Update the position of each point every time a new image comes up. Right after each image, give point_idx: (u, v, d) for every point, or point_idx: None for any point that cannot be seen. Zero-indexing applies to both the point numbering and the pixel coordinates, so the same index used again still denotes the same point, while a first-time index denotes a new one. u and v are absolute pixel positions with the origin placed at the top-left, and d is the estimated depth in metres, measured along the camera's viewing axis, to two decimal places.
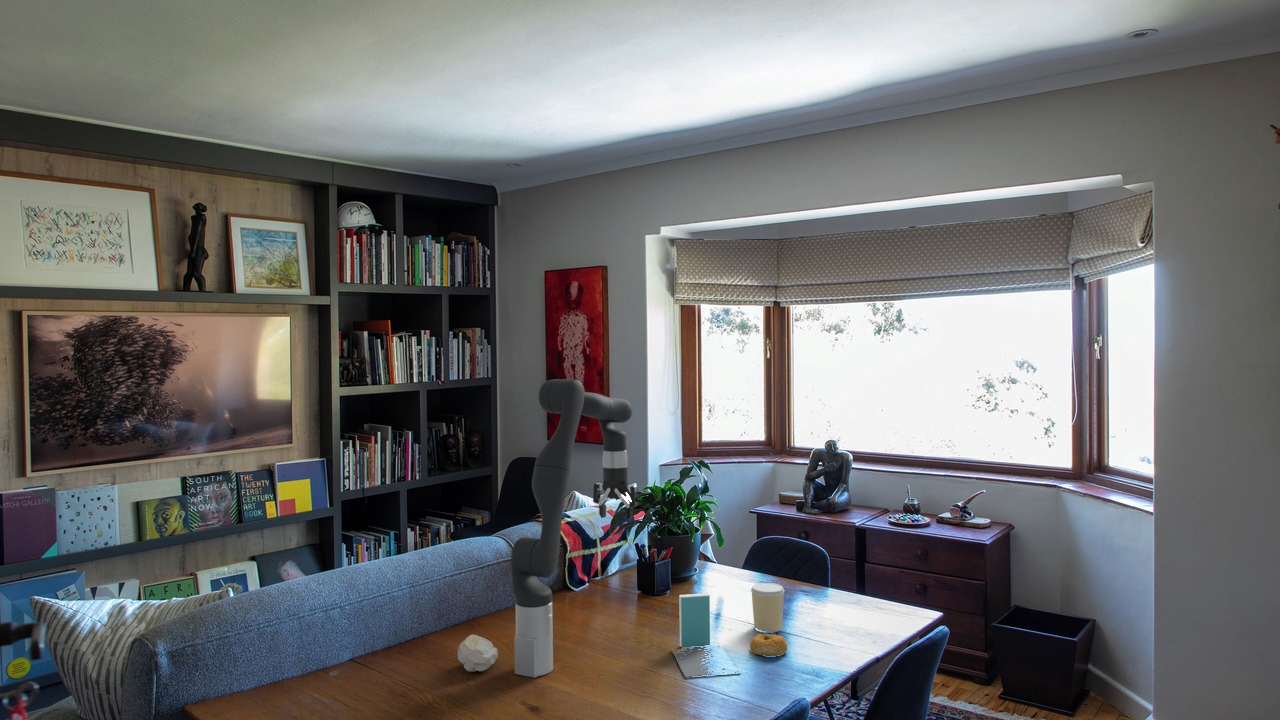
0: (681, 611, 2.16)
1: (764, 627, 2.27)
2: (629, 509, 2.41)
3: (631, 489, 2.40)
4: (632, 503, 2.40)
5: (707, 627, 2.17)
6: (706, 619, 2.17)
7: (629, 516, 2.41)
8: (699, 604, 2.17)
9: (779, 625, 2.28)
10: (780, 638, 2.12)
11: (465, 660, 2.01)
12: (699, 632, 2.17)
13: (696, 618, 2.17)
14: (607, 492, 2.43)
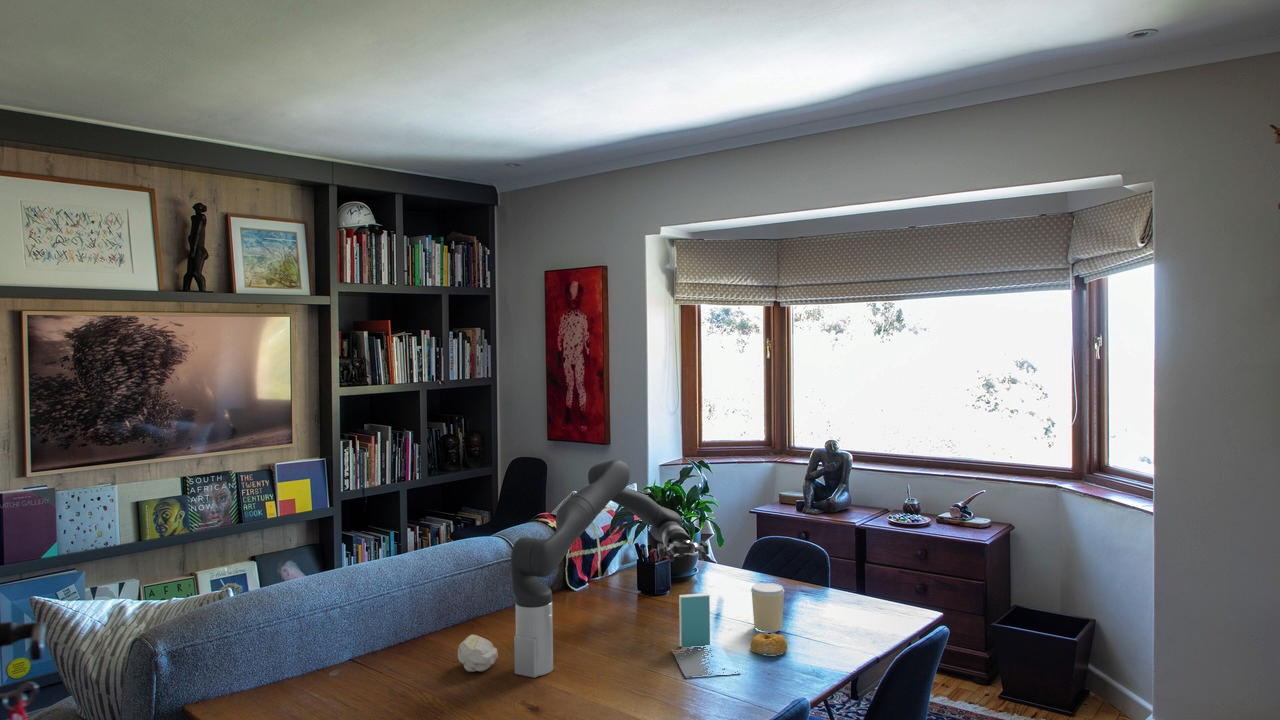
0: (681, 611, 2.16)
1: (764, 627, 2.27)
2: (702, 549, 2.29)
3: (701, 541, 2.35)
4: (705, 545, 2.31)
5: (707, 627, 2.17)
6: (706, 619, 2.17)
7: (704, 551, 2.27)
8: (699, 604, 2.17)
9: (779, 625, 2.28)
10: (780, 637, 2.12)
11: (465, 660, 2.01)
12: (698, 632, 2.17)
13: (696, 618, 2.17)
14: (675, 542, 2.32)
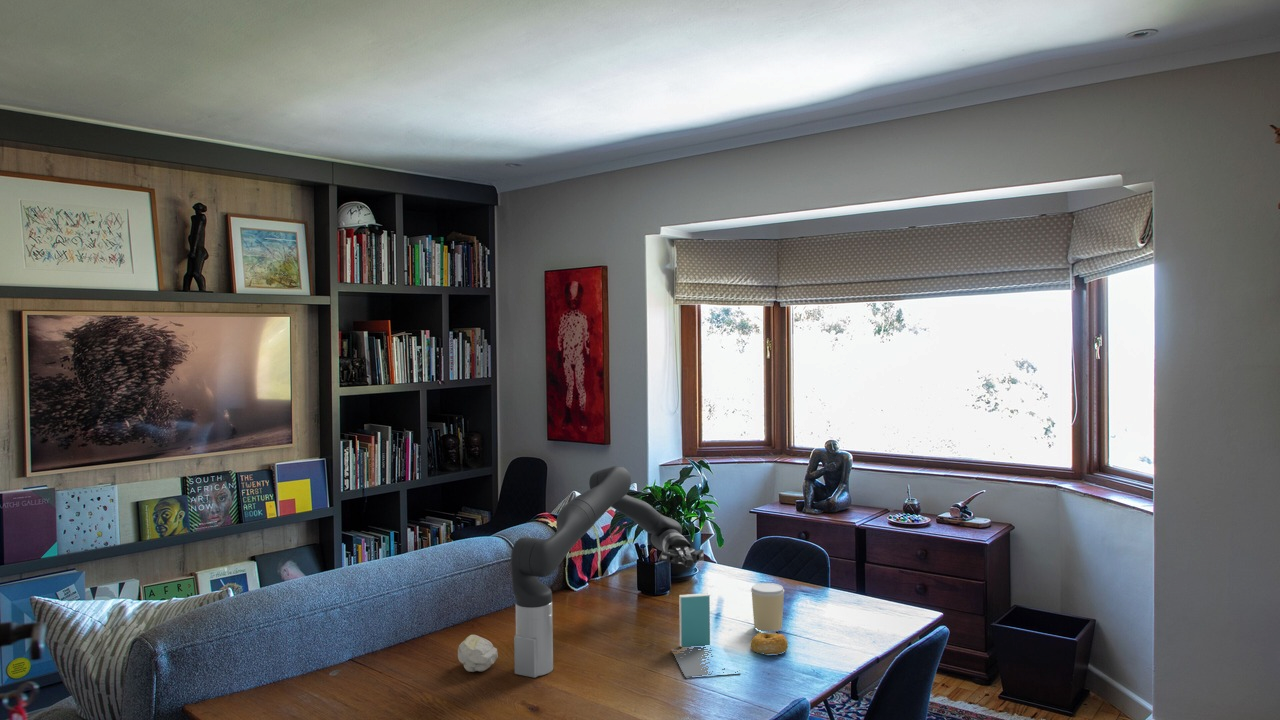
0: (681, 611, 2.16)
1: (764, 627, 2.27)
2: (690, 557, 2.27)
3: (700, 550, 2.33)
4: (693, 553, 2.29)
5: (707, 627, 2.17)
6: (706, 619, 2.17)
7: (692, 559, 2.25)
8: (699, 604, 2.17)
9: (779, 625, 2.28)
10: (781, 636, 2.13)
11: (465, 660, 2.01)
12: (698, 632, 2.17)
13: (696, 618, 2.17)
14: (678, 548, 2.32)
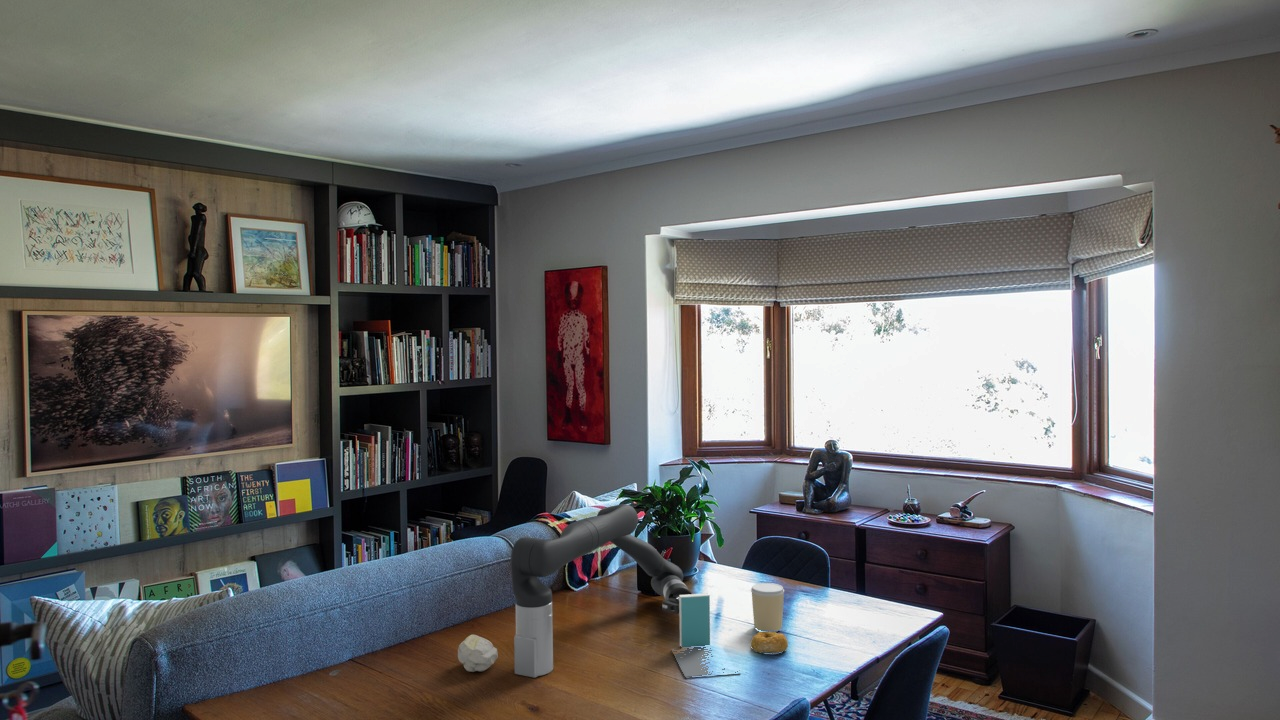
0: (681, 611, 2.16)
1: (764, 627, 2.27)
2: None
3: None
4: None
5: (707, 627, 2.17)
6: (706, 619, 2.17)
7: None
8: (699, 604, 2.17)
9: (779, 625, 2.28)
10: (781, 636, 2.13)
11: (465, 660, 2.01)
12: (699, 632, 2.17)
13: (696, 618, 2.17)
14: None
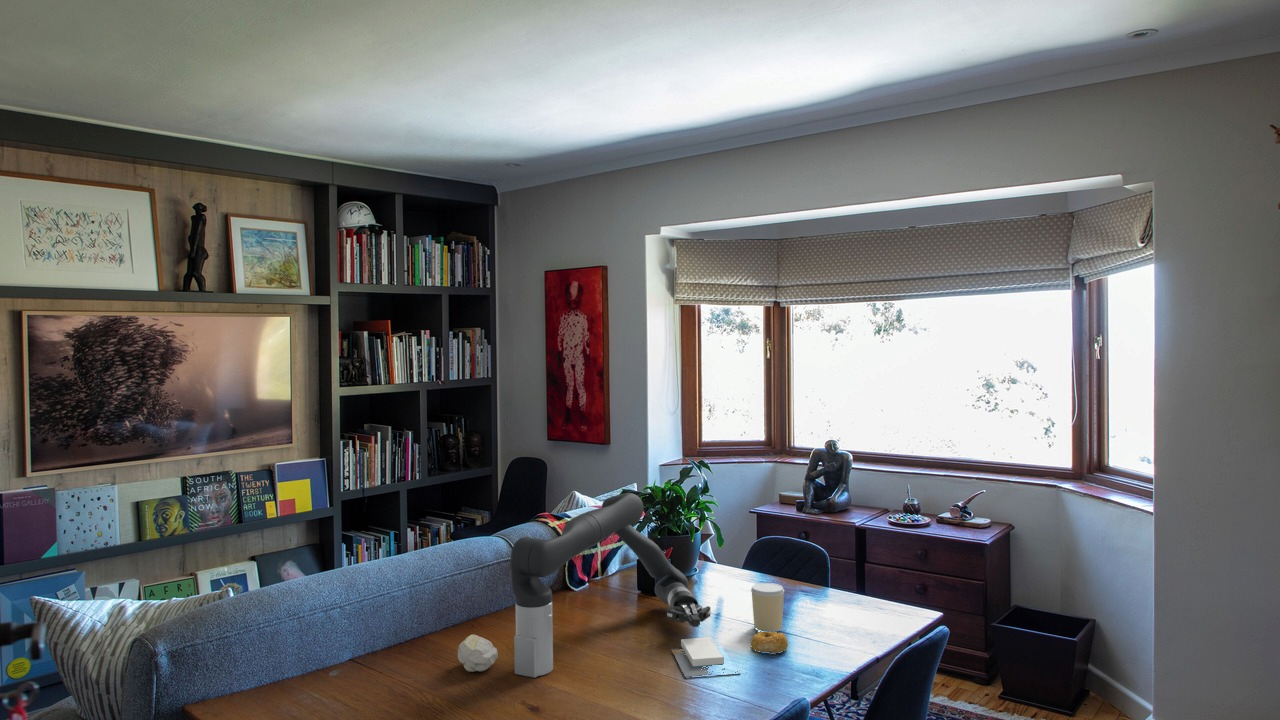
0: None
1: (764, 627, 2.27)
2: (697, 616, 2.20)
3: (707, 607, 2.25)
4: (700, 611, 2.22)
5: None
6: None
7: (698, 619, 2.17)
8: None
9: (779, 625, 2.28)
10: (781, 635, 2.14)
11: (465, 660, 2.01)
12: None
13: None
14: (684, 605, 2.25)
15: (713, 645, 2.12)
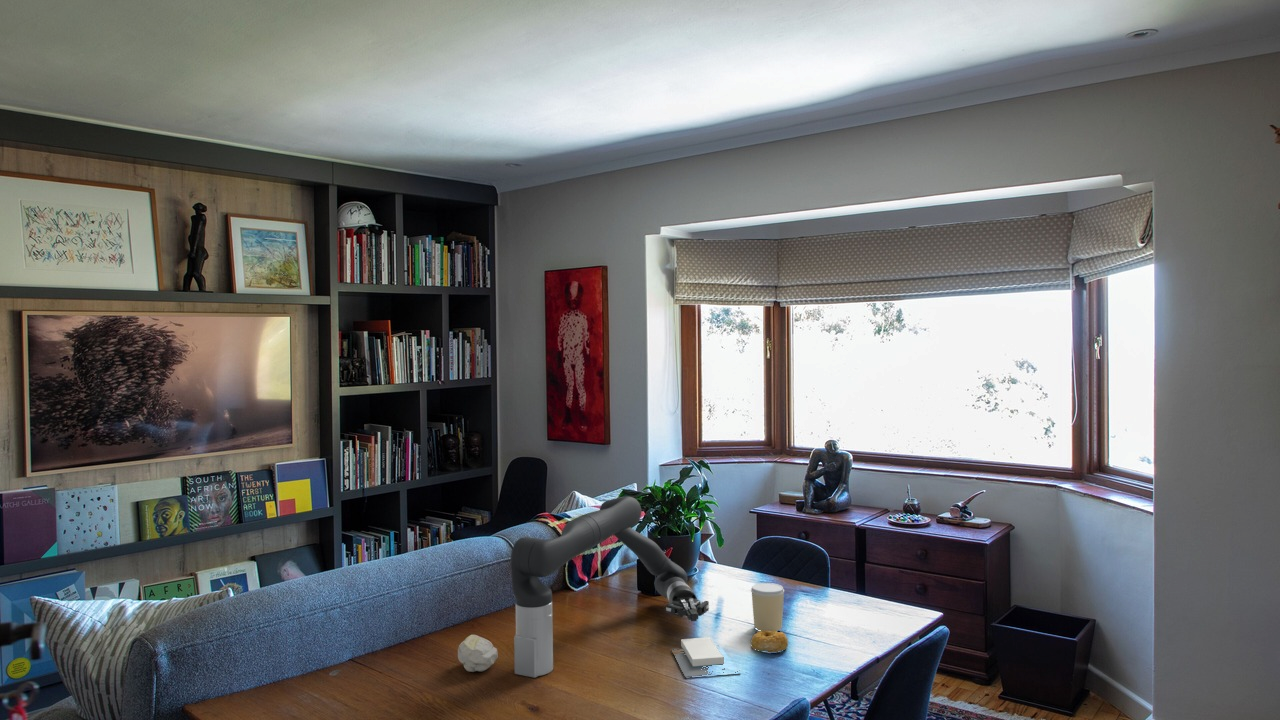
0: None
1: (764, 627, 2.27)
2: (695, 611, 2.23)
3: (705, 601, 2.29)
4: (698, 606, 2.25)
5: None
6: None
7: (697, 613, 2.21)
8: None
9: (779, 625, 2.28)
10: (781, 634, 2.14)
11: (465, 660, 2.01)
12: None
13: None
14: (683, 600, 2.28)
15: (713, 645, 2.12)
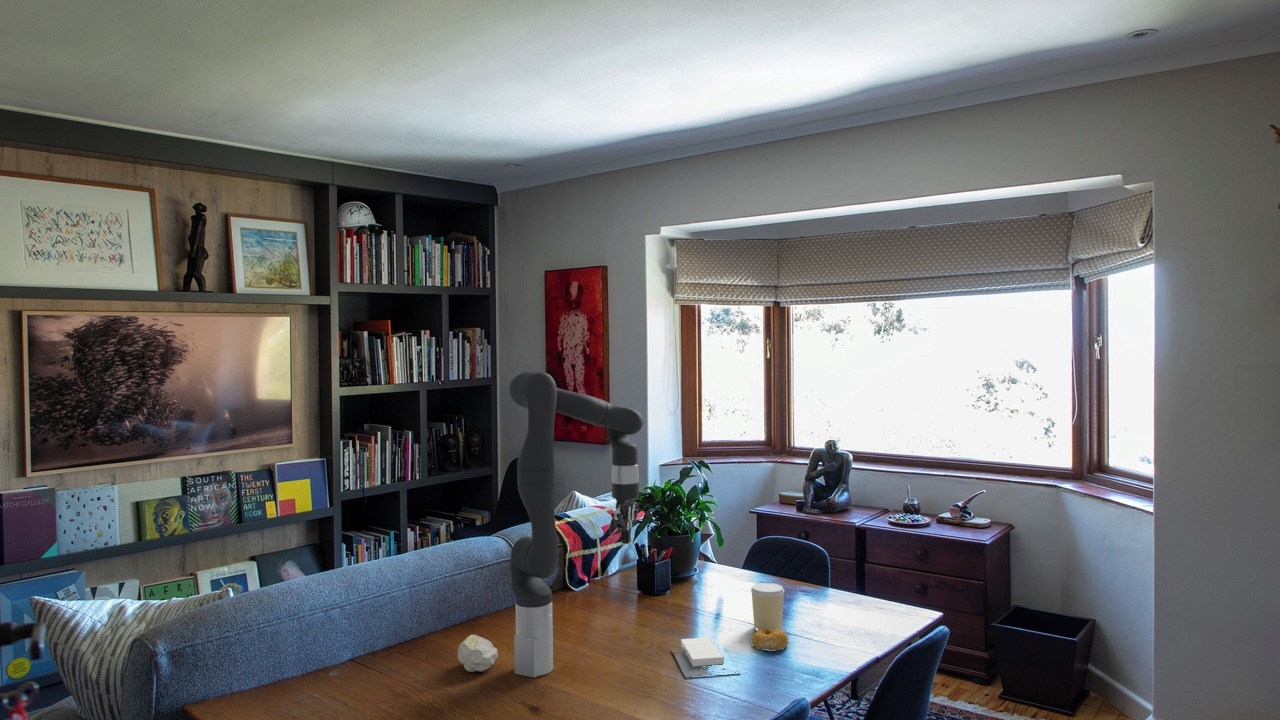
0: None
1: (764, 627, 2.27)
2: None
3: (637, 508, 2.27)
4: (633, 522, 2.25)
5: None
6: None
7: None
8: None
9: (779, 625, 2.28)
10: (781, 632, 2.16)
11: (465, 660, 2.01)
12: None
13: None
14: (629, 511, 2.21)
15: (713, 645, 2.12)
